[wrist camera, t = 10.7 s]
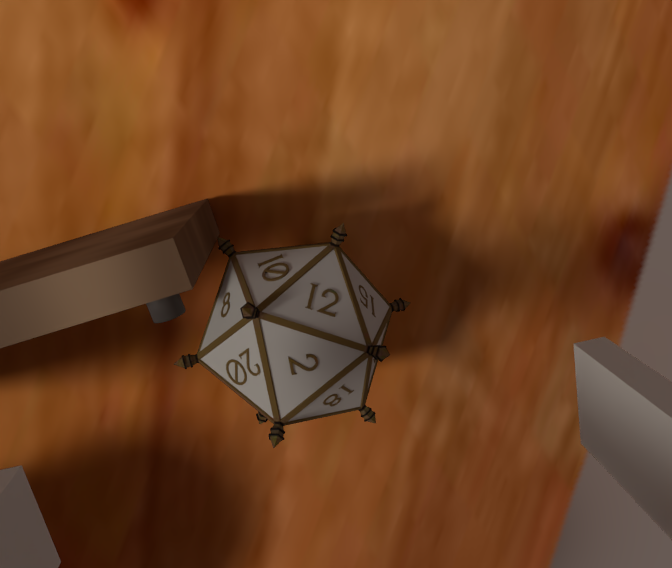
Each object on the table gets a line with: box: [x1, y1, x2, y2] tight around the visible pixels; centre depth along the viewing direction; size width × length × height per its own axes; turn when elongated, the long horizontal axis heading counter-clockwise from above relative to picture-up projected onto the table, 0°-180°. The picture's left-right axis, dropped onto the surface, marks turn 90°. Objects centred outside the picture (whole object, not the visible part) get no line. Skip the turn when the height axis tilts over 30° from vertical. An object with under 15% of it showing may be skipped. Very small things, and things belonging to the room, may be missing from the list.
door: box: [0, 199, 220, 348], centre depth 21 cm, size 15×3×9 cm, turn 106°
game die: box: [174, 223, 410, 448], centre depth 23 cm, size 9×8×10 cm
